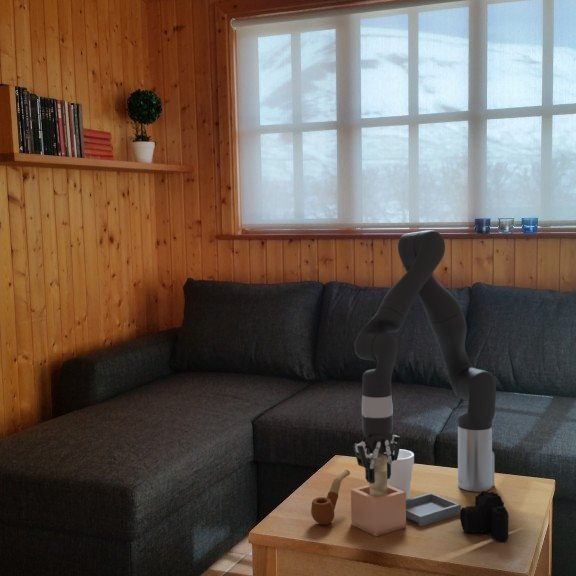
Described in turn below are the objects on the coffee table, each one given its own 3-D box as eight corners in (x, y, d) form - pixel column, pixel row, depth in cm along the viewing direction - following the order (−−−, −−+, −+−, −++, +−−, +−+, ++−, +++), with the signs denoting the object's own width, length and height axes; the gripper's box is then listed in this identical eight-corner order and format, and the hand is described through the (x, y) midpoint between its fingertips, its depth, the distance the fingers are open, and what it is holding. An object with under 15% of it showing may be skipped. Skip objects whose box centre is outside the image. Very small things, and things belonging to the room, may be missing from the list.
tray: (431, 501, 213) (431, 492, 213) (461, 513, 204) (461, 504, 204) (391, 513, 205) (391, 503, 205) (420, 526, 196) (420, 516, 196)
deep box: (381, 515, 204) (380, 481, 203) (406, 527, 196) (405, 492, 195) (351, 524, 199) (350, 489, 198) (375, 536, 191) (375, 500, 190)
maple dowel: (380, 513, 200) (379, 451, 199) (391, 519, 197) (390, 456, 195) (366, 517, 198) (365, 455, 196) (377, 523, 194) (376, 459, 193)
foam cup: (413, 508, 208) (412, 460, 207) (378, 506, 210) (377, 458, 209) (414, 495, 218) (414, 449, 217) (381, 494, 220) (380, 448, 218)
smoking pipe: (332, 531, 196) (310, 529, 198) (353, 487, 212) (332, 486, 214) (328, 507, 194) (306, 505, 196) (349, 465, 210) (328, 464, 212)
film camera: (453, 520, 200) (453, 485, 200) (490, 517, 201) (490, 483, 200) (473, 544, 185) (473, 507, 185) (513, 541, 186) (513, 504, 185)
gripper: (389, 405, 202) (390, 470, 203) (344, 414, 194) (346, 482, 196) (409, 411, 195) (410, 478, 197) (363, 420, 188) (365, 490, 189)
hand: (378, 480), depth 196 cm, fingers closed on maple dowel, 4 cm apart
